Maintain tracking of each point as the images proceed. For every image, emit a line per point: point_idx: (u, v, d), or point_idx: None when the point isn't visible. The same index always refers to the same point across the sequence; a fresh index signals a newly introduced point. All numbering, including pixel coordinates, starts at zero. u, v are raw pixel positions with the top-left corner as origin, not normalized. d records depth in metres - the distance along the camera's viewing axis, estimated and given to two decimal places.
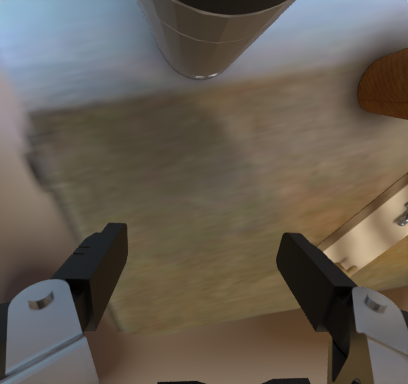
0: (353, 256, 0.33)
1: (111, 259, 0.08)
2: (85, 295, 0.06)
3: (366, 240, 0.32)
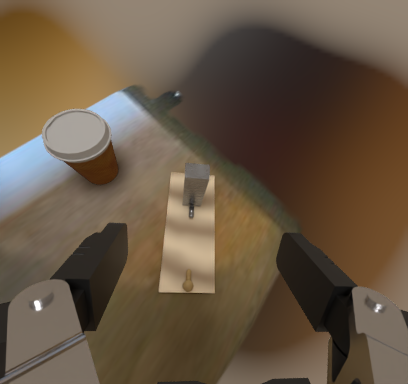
0: (193, 265, 0.33)
1: (111, 259, 0.08)
2: (85, 295, 0.06)
3: (187, 245, 0.34)
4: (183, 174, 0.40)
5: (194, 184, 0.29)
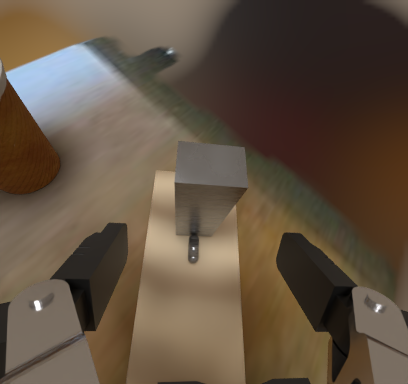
0: (198, 375, 0.15)
1: (111, 259, 0.08)
2: (85, 295, 0.06)
3: (185, 324, 0.16)
4: None
5: (203, 200, 0.11)
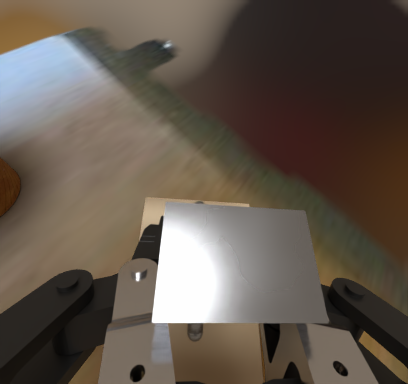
0: None
1: None
2: None
3: None
4: None
5: None
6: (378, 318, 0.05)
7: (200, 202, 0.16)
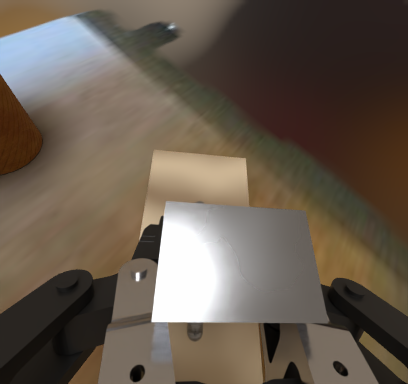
0: None
1: None
2: None
3: None
4: (180, 155, 0.19)
5: None
6: (378, 318, 0.05)
7: (200, 202, 0.16)
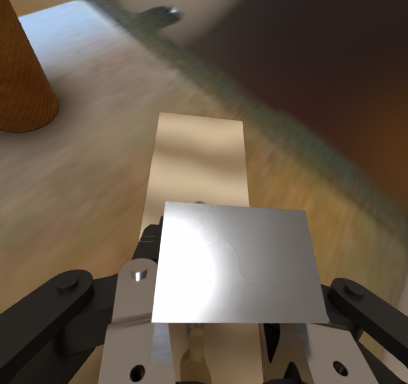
0: None
1: None
2: None
3: None
4: (183, 117, 0.21)
5: None
6: (378, 318, 0.05)
7: (200, 202, 0.16)
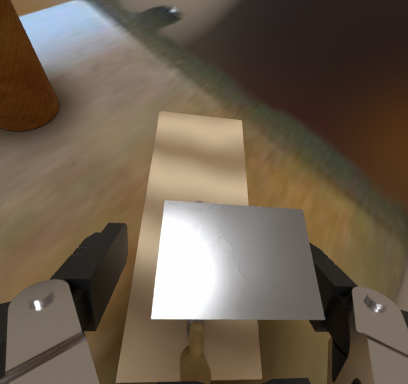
0: None
1: (111, 259, 0.08)
2: (85, 295, 0.06)
3: None
4: (183, 115, 0.21)
5: None
6: None
7: (200, 202, 0.16)
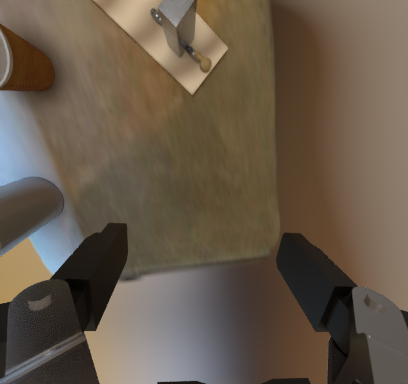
0: (193, 47, 0.31)
1: (111, 259, 0.08)
2: (85, 295, 0.06)
3: None
4: None
5: (185, 21, 0.22)
6: None
7: (151, 9, 0.28)
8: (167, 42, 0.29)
